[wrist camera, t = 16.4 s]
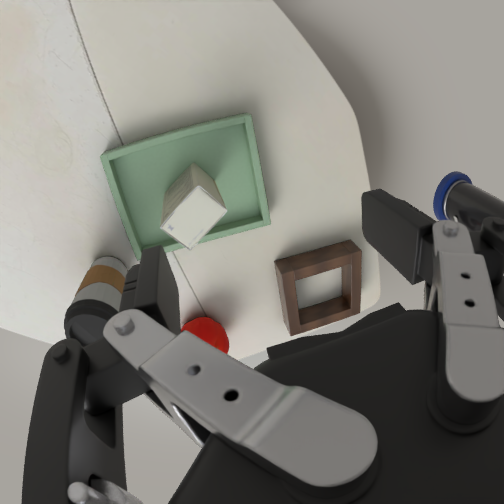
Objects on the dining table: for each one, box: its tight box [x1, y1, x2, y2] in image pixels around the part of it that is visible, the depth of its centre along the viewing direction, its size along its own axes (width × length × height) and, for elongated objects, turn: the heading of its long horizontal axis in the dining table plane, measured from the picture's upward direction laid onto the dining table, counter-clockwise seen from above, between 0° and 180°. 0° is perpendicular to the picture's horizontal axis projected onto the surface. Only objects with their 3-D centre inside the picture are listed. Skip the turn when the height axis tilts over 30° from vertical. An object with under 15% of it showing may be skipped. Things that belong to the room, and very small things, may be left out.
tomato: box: [181, 317, 229, 354], centre depth 53 cm, size 9×9×8 cm
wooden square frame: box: [274, 240, 362, 336], centre depth 55 cm, size 14×14×4 cm
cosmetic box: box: [160, 163, 227, 250], centre depth 38 cm, size 6×4×12 cm
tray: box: [100, 113, 271, 261], centre depth 42 cm, size 20×16×3 cm
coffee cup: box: [64, 256, 128, 347], centre depth 41 cm, size 8×8×15 cm
